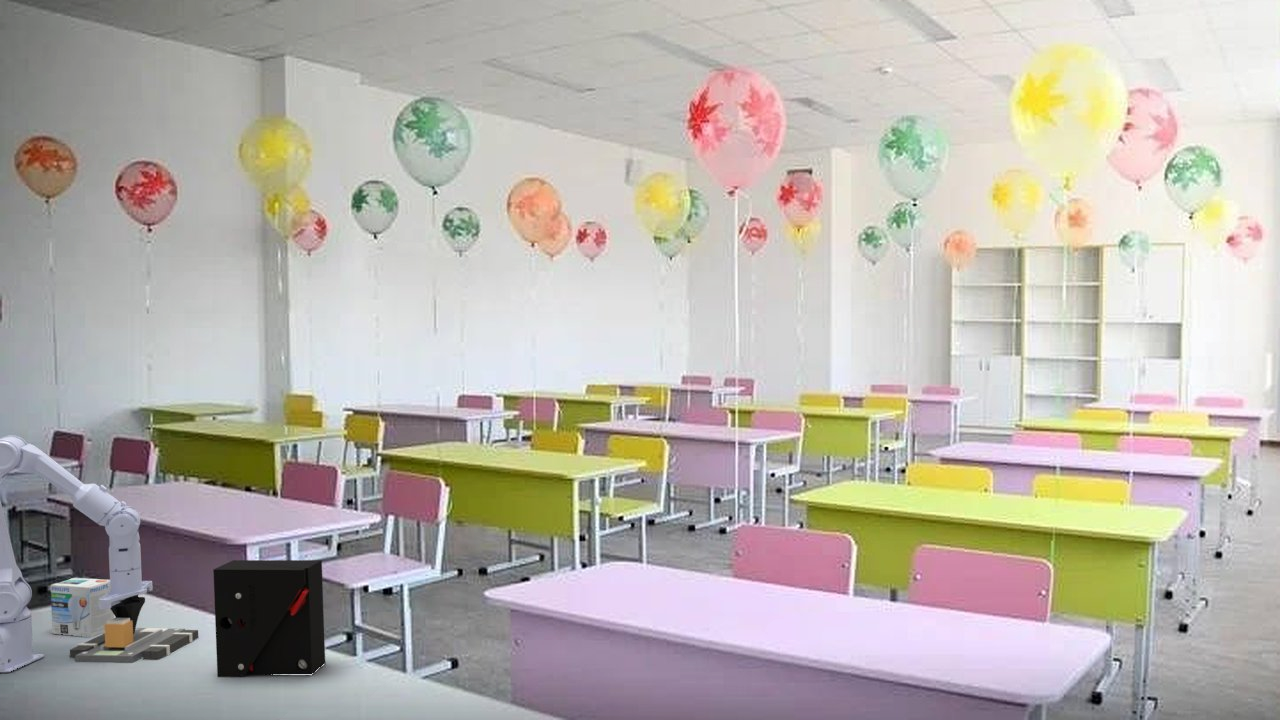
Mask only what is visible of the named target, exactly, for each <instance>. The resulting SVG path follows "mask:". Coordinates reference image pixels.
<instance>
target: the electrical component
mask: <svg viewBox="0 0 1280 720" xmlns="http://www.w3.org/2000/svg"><path fill="white" fill-rule="evenodd" d="M212 572H213V589H214V590H213V591H214V592H213V594H214V595H213V596H214V616H215V618H214V619H215V624H214V625H215V645H216V646H215V649H216V672H217V674H216V675H217V678H235V677H236V678H238V677H240V678H241V677H245V676H274V675H273V674H312V673H314V672H315V671H316V670H317V669H318V668H319V667H321V666H322V665H323V664H324V663H325V664H326V649H325V647H326V646H325V645H326V644H325V621H324V617H325V616H324V597H323V596H324V593H323V589H324V587H323V560H321V559H320V560H319V559H317V560H316V559H315V560H314V559H312V560H311V559H308V560H307V559H305V560H303V559H302V560H300V559H299V560H298V559H296V560H295V559H294V560H292V559H290V560H289V559H287V560H285V559H284V560H283V559H279V560H277V559H273V560H272V559H271V560H270V559H267V560H266V559H262V560H261V559H256V560H254V559H253V560H252V559H246V560H243V559H241V560H239V559H236V560H235V559H234V560H230V561H229V562H227V563H225V564H222V565H220V566H218V567H216V568H213V571H212ZM271 674H272V675H271Z"/></svg>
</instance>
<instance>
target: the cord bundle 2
mask: <svg viewBox="0 0 1280 720" xmlns="http://www.w3.org/2000/svg"><path fill="white" fill-rule="evenodd" d="M197 639H199V630H198V629H185V630H182V631H180V632H178V633H173V636H171V637H169V638H167V639H165V640H163V641H161V642H159V643H157V644H155V645H150V646H149V648H148V649H146V650H144V651H143V657H142V660H155V661H156V660H158V661H159V660H160V659H162V658H164V657H166V656H169V655H171V654H172V653H173V652H176V650H179V649H181V648H183V647H184V646H186V645H188V644H190V643H193V641H195V640H197Z"/></svg>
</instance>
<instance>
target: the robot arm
mask: <svg viewBox="0 0 1280 720" xmlns="http://www.w3.org/2000/svg"><path fill="white" fill-rule="evenodd" d="M16 468H18V469H17V471H16V473H23V474H36V475H38V476H39V477H41V478H42V479H43V480H45V481H47V482H49V483H50V484H51V485H53V486H54V487H56V488H57V489H59V490H60V491H62V492H64V493H66V495H68V496H70V497H71V499H72V506H73V507H74V508H75V509H76V510H78V511H79V512H80V513H82V514H83V515H85V517H88V518H89V519H90V520H92V521H93V522H94V523H95V524H97V525H99V526H102V527H104V530H105V532H106V534H107V536H108V537H109V538H108V539H109V547H108V562H109V564H108V565H109V580H110V592H109V593H107V594H106V595H105V596H104V597H103V598H101V599H99V609H111V611H112V612H113V613H114V618H130V620H133V635H134V633H135V629H136V628H137V624H138V623H137V622H138V620H139V616H140V613H141V610H142V609H143V606H144V605H145V603H146V597H144V596H139V595H145V594H146V593H148V592H151V591H153V587H154V586H153V581H152V580H142V577H143V576H142V556H141V555H142V553H141V551H142V550H141V543H140V540H141V539H140V534H139V528H140V525H141V517H140V516H141V515H140V513H139V512H138V511H137V510H136V509H135V507H133V506H130V505H127V502H125V501H124V500H122V501H119V500H118V499H117V498H115V497H114V496H113V495H112V494H110V493H109V492H107V489H108V487H106V486H105V485H103V484H100V486H99V485H97V484H96V483H83V482H82V481H80V480H79V478H77V477H76V476H74V475H73V474H72V473H70V472H69V471H68V470H67V469H66V468H65V467H63V466H62V465H60V464H59V463H57V461H55V460H54V459H53V458H52V457H50V456H49V455H48V454H46V453H45V452H44V451H42V449H40V448H38V447H37V446H35V445H33V444H32V443H27V441H26V440H25V439H24V438H22V437H20V436H18V435H14V434H11V435H10V434H9V435H4V436H2V437H0V485H1V484H2V482H3V481H4V480H5V479H6V478H7V477H8V475H9V473H11V472H13V470H15V469H16ZM1 500H2V499H0V673H12V672H14V671H17V670H18V669H20V668H22V666H23V667H25V666H27V665H29V664H31V663H33V662H36V661H38V660H40V659H43V658H44V657H45V654H43V653H34V646H33V626H32V625H33V622H32V621H33V619H32V611H31V610H30V609H29V608H28V607H27V606H28V605H29V603H30V602H31V599H32V596H33V590H32V587H31V586H30V584H29V583H27V581H25V579H24V576H23V574H22V571H21V570H20V568H19V567H18V565H17V562H16V557H15V554H14V549H13V545H12V542H11V538H10V537H11V536H10V534H9V529H8V526H7V525H8V524H7V521H6V517H5V513H4V509H3V505H2V501H1ZM24 665H25V666H24ZM17 668H18V669H17ZM13 670H14V671H13ZM11 671H12V672H11Z"/></svg>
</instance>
